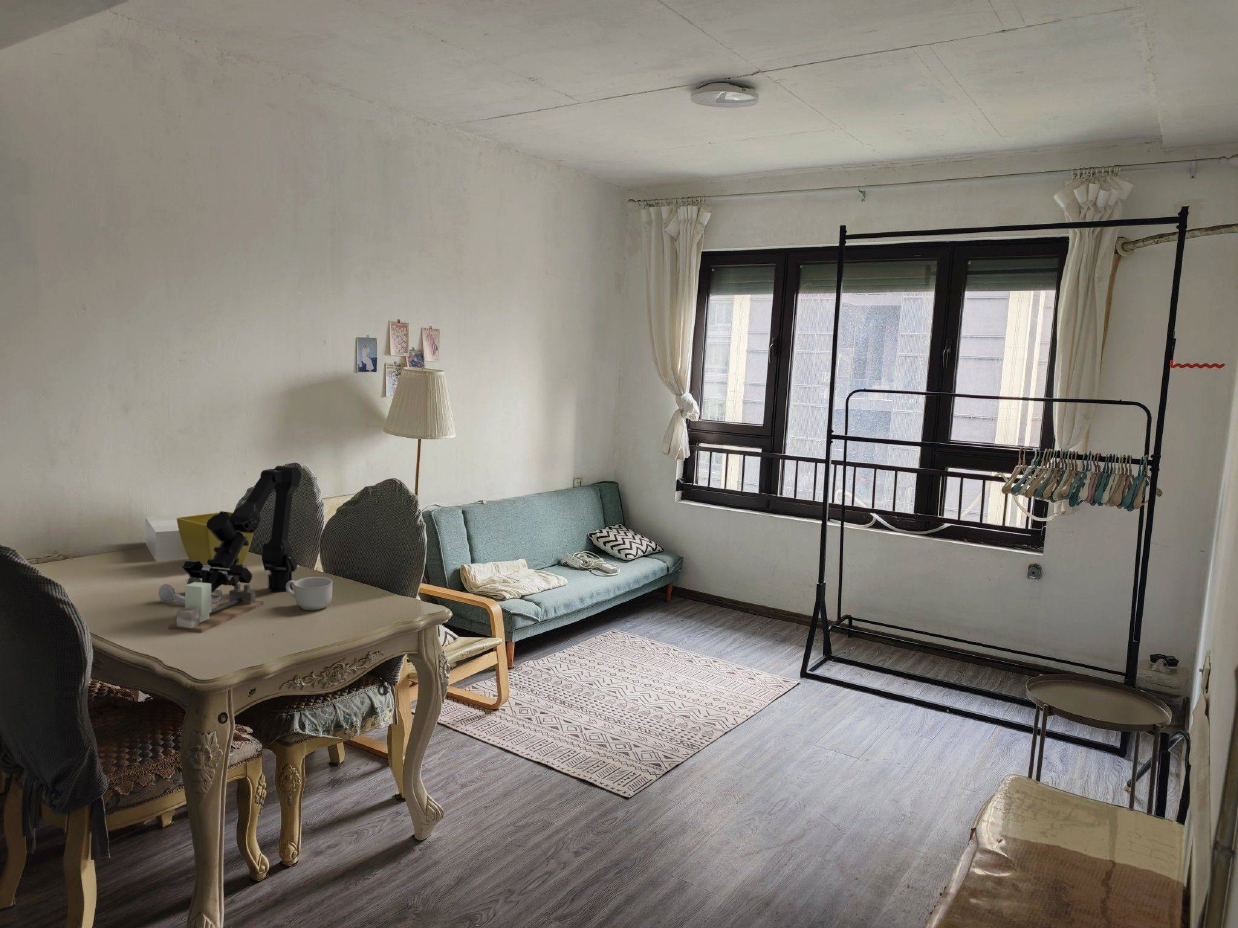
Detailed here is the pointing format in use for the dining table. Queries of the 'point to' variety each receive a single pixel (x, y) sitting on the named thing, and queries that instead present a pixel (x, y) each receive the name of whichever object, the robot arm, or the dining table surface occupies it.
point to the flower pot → (204, 538)
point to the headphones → (169, 595)
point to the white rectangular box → (164, 538)
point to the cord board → (217, 611)
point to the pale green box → (199, 598)
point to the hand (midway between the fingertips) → (203, 597)
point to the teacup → (311, 592)
